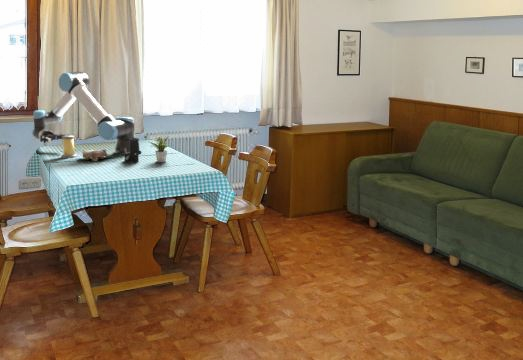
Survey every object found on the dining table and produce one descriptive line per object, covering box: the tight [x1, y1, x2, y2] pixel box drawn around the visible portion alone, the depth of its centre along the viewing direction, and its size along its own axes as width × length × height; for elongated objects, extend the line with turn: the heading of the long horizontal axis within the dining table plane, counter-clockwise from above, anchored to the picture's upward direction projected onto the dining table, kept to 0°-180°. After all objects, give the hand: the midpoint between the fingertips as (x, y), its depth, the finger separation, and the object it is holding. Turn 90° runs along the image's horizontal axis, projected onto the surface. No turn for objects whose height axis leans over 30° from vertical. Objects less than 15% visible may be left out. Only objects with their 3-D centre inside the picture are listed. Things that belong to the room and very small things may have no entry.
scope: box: [123, 137, 142, 164], centre depth 387 cm, size 8×14×10 cm
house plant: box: [147, 135, 171, 163], centre depth 389 cm, size 14×14×16 cm
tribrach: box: [81, 149, 108, 162], centre depth 395 cm, size 14×14×5 cm
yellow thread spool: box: [61, 135, 77, 159], centre depth 402 cm, size 9×9×13 cm
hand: (61, 139), depth 408 cm, fingers open, 13 cm apart
